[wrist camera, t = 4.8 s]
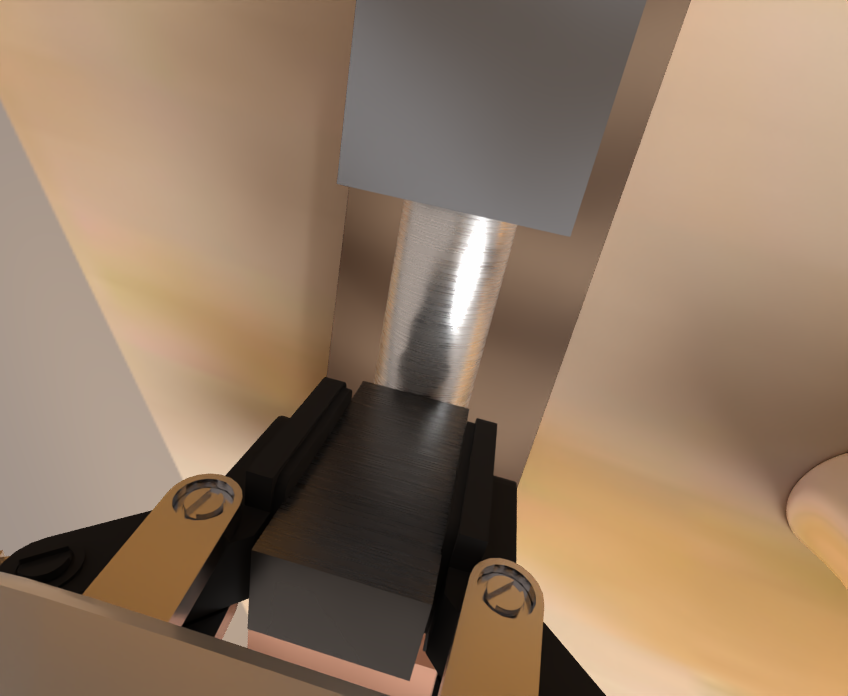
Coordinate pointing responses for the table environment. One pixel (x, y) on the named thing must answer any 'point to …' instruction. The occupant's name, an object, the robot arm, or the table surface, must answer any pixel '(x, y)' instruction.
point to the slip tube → (387, 459)
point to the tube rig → (489, 189)
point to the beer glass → (823, 513)
